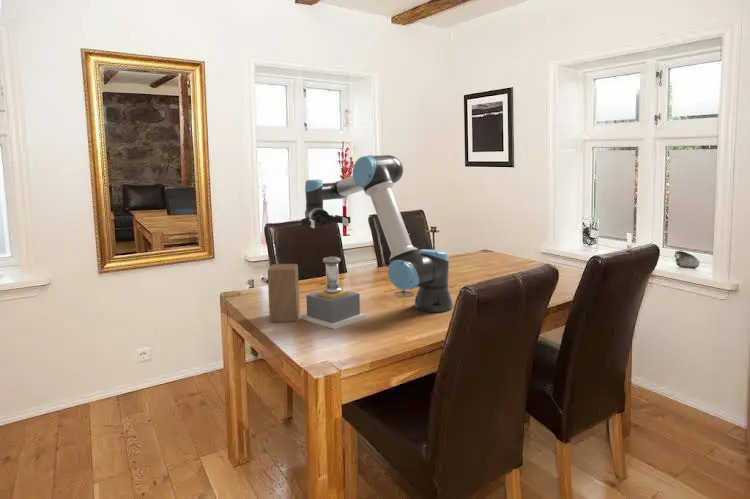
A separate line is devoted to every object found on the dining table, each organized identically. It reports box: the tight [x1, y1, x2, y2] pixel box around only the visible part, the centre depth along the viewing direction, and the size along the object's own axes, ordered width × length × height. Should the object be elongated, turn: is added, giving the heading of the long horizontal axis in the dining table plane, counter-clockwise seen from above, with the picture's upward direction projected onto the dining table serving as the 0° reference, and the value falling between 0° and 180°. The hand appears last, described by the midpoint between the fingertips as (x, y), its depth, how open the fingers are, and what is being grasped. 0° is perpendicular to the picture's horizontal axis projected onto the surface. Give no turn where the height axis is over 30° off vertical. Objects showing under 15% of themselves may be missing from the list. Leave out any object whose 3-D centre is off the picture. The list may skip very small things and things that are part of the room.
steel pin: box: [322, 256, 342, 294], centre depth 197 cm, size 6×6×20 cm
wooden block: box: [267, 263, 301, 323], centre depth 199 cm, size 10×10×20 cm
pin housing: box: [301, 288, 367, 330], centre depth 198 cm, size 18×16×10 cm
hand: (330, 223), depth 208 cm, fingers open, 13 cm apart
